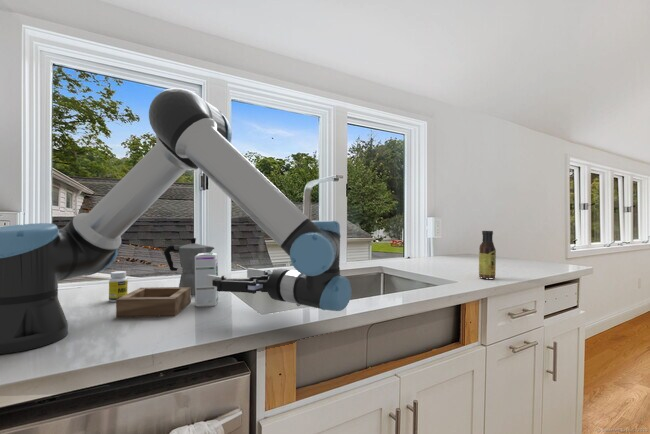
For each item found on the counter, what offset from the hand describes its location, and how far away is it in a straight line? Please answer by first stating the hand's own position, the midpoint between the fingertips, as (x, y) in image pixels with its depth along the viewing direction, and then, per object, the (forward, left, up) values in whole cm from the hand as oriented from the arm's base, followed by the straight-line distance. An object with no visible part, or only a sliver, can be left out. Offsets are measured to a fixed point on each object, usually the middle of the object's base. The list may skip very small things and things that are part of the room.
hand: (229, 276), depth 94 cm
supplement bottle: (+12, +34, -9) cm, 38 cm away
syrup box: (+6, +7, -9) cm, 13 cm away
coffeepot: (+21, +16, -9) cm, 28 cm away
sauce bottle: (+40, -98, -9) cm, 106 cm away
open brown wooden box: (+1, +19, -9) cm, 21 cm away
